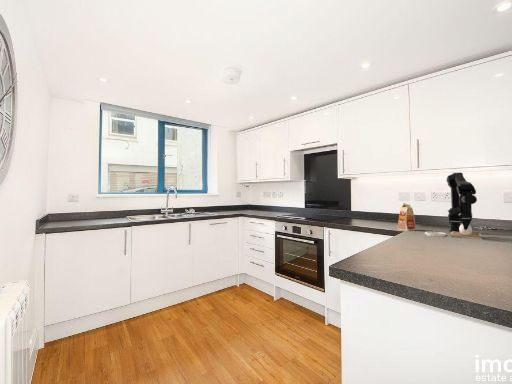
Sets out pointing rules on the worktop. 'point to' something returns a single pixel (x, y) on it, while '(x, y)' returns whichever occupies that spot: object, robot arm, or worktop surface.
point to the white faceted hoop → (435, 233)
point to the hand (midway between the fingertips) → (465, 229)
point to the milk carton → (406, 218)
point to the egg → (467, 232)
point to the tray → (472, 235)
